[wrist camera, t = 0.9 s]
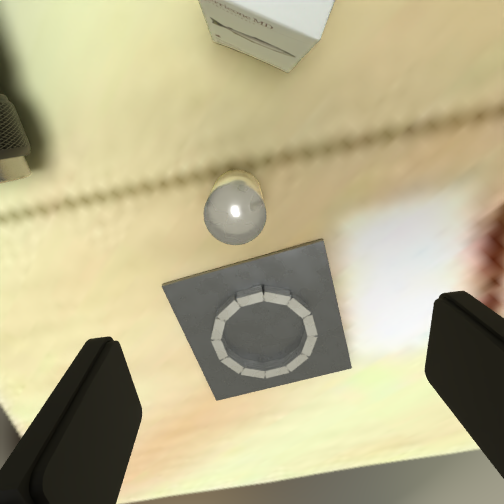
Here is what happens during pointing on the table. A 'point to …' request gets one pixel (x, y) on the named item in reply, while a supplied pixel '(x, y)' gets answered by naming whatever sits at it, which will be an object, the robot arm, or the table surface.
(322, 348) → the ring mat
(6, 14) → the table surface
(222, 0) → the supplement box
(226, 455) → the table surface
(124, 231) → the table surface
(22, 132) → the muzzle brake
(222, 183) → the piston
